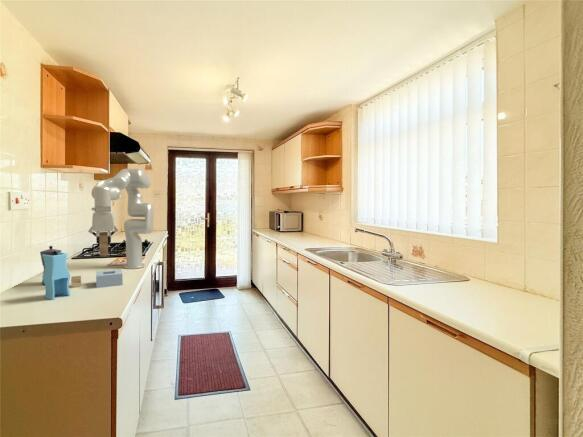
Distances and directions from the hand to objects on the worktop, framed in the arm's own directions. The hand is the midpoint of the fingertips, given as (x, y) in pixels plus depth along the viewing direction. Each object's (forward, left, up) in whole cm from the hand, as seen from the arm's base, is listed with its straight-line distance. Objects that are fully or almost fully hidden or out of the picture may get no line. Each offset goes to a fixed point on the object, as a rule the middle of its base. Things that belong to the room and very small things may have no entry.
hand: (103, 243), depth 181 cm
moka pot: (-13, -24, -22) cm, 35 cm away
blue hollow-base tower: (+16, -20, -22) cm, 33 cm away
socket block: (+2, +2, -21) cm, 22 cm away
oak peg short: (0, -13, -21) cm, 25 cm away
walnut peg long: (0, 0, -6) cm, 6 cm away
